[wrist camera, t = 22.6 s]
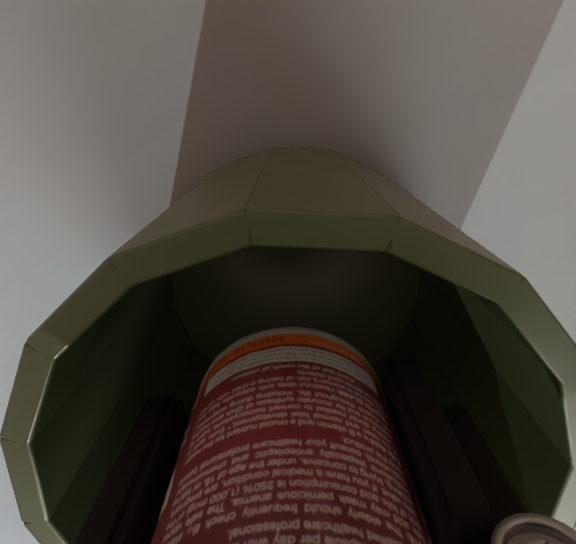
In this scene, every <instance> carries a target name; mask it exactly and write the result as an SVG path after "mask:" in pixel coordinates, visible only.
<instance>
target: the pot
mask: <svg viewBox="0 0 576 544" xmlns="http://www.w3.org/2000/svg"><path fill="white" fill-rule="evenodd" d="M289 326H292V327H307V328H313V329H317V330H320V331H323V332H326V333H329V334H331V335H334V336H336V337H339V338H340V339H342V340H344V341H346V342H347V343H349V344H350V345H351V346H353V347H354V348H355V349H357V350H358V351H359V352H360V353H361V354H362V355H363V356H364V357H365V358H366V360H367V361H368V362H369V363H370V365H371V366H372V368H373V369H374V371H375V373H376V375H377V377H378V379H379V382H380V384H381V387H382V390H383V394H384V397H385V400H386V403H387V399H386V392H385V385H384V378H383V371H382V364H384V363H389V357H390V356H394V355H400V354H405V353H411V352H412V353H414V355H415V357H416V359H417V361H418V363H419V365H420V367H421V369H422V371H423V373H424V375H425V377H426V379H427V381H428V383H429V385H430V387H431V389H432V391H433V393H434V395H435V397H436V399H437V401H438V403H439V405H440V407H443V406H449V405H455V404H462V405H464V406H465V408H466V409H467V411H468V412H469V414H470V416H471V417H472V419H473V421H474V422H475V424H476V426H477V427H478V429H479V431H480V433H481V434H482V436H483V438H484V439H485V441H486V443H487V445H488V446H489V448H490V450H491V451H492V453H493V455H494V456H495V458H496V460H497V462H498V463H499V465H500V467H501V468H502V470H503V472H504V473H505V475H506V477H507V479H508V480H509V482H510V484H511V485H512V487H513V489H514V491H515V492H516V494H517V496H518V497H519V499H520V501H521V502H522V504H523V506H524V508H525V509H526V511H527V513H536V514H541V515H545V516H549V517H551V518H554V519H556V520H558V521H560V522H563V523H565V524H566V525H568V526H569V527H571V528H572V529H573V530H574V528H575V525H576V344H575V342H574V341H573V340H572V338H571V337H570V336H569V334H568V333H567V332H566V330H565V329H564V328H563V326H562V325H561V324H560V322H559V321H558V320H557V318H556V317H555V316H554V314H553V313H552V312H551V311H550V309H549V308H548V307H547V305H546V304H545V303H544V301H543V300H542V299H541V297H540V296H539V295H538V293H537V292H536V291H535V289H534V288H533V287H532V285H531V284H530V283H529V281H528V280H527V279H526V278H525V277H524V276H523V275H521V274H520V273H519V272H518V271H516V270H515V269H513V268H512V267H511V266H509V265H508V264H506V263H505V262H504V261H502V260H501V259H499V258H498V257H497V256H495V255H494V254H493V253H491V252H490V251H488V250H487V249H486V248H484V247H483V246H481V245H480V244H479V243H477V242H476V241H475V240H473V239H472V238H470V237H469V236H468V235H466V234H465V233H463V232H462V231H461V230H459V229H458V228H457V227H455V226H454V225H452V224H451V223H450V222H448V221H447V220H445V219H444V218H443V217H441V216H440V215H439V214H437V213H436V212H434V211H433V210H432V209H430V208H429V207H427V206H426V205H425V204H423V203H422V202H421V201H419V200H418V199H416V198H415V197H414V196H412V195H411V194H409V193H408V192H407V191H405V190H404V189H402V188H401V187H400V186H398V185H397V184H396V183H394V182H393V181H391V180H390V179H389V178H387V177H386V176H384V175H382V174H380V173H377V172H375V171H373V170H371V169H369V168H367V167H366V166H364V165H362V164H361V163H359V162H356V161H354V160H351V159H349V158H347V157H345V156H343V155H341V154H339V153H337V152H334V151H323V150H313V149H305V148H293V149H283V148H273V149H269V150H266V151H264V152H261V153H258V154H255V155H251V156H248V157H245V158H243V159H241V160H238V161H236V162H234V163H232V164H229V165H226V166H224V167H221V168H218V169H217V170H215V171H214V172H212V173H211V174H210V175H209V176H208V177H206V178H205V179H204V180H203V181H201V182H200V183H199V184H198V185H196V186H195V187H194V188H193V189H192V190H190V191H189V192H188V193H187V194H185V195H184V196H183V197H182V198H181V199H179V200H178V201H177V202H176V203H174V204H173V205H172V206H171V207H169V208H168V209H167V210H166V211H165V212H163V213H162V214H161V215H160V216H158V217H157V218H156V219H155V220H154V221H152V222H151V223H150V224H149V225H147V226H146V227H145V228H144V229H143V230H141V231H140V232H139V233H138V234H136V235H135V236H134V237H133V238H131V239H130V240H129V241H128V242H127V243H125V244H124V245H123V246H122V247H120V248H119V249H118V250H117V251H116V252H114V253H113V254H112V255H111V256H109V257H108V258H107V259H106V260H105V261H104V262H103V263H102V264H101V265H100V266H99V267H98V268H97V269H96V270H95V271H94V272H93V273H92V274H91V275H90V276H89V277H88V278H87V279H86V280H85V281H84V282H83V283H82V284H81V285H80V286H79V287H78V288H77V289H76V290H75V291H74V292H73V293H72V294H71V295H70V296H69V297H68V298H67V299H66V300H65V301H64V302H63V303H62V304H61V305H60V306H59V307H58V308H57V309H56V310H55V311H54V312H53V313H52V314H51V315H50V316H49V317H48V318H47V319H46V320H45V321H44V322H43V323H42V324H41V325H40V326H39V327H38V328H37V329H36V330H35V331H34V332H33V333H32V334H31V335H30V336H29V337H28V339H27V342H26V343H25V344H24V347H23V351H22V355H21V358H20V362H19V366H18V370H17V373H16V377H15V381H14V384H13V388H12V392H11V396H10V399H9V403H8V407H7V411H6V414H5V418H4V422H3V425H2V429H1V433H0V437H1V438H0V442H1V446H2V450H3V453H4V457H5V461H6V464H7V468H8V472H9V475H10V479H11V483H12V486H13V490H14V494H15V497H16V501H17V505H18V508H19V512H20V516H21V519H22V521H23V522H24V525H25V526H26V528H27V529H28V530H29V531H30V532H31V534H32V535H33V536H34V537H35V538H36V539H37V541H38V542H39V543H40V544H74V543H75V541H76V539H77V537H78V535H79V533H80V531H81V529H82V527H83V525H84V523H85V521H86V519H87V517H88V515H89V512H90V510H91V508H92V506H93V504H94V502H95V500H96V498H97V496H98V494H99V492H100V490H101V488H102V486H103V484H104V482H105V480H106V478H107V476H108V474H109V472H110V470H111V468H112V466H113V465H114V463H115V462H116V461H117V459H118V457H119V455H120V453H121V451H122V449H123V447H124V445H125V442H126V440H127V438H128V436H129V434H130V432H131V430H132V428H133V426H134V424H135V422H136V420H137V418H138V416H139V414H140V412H141V410H142V408H143V406H144V403H145V402H146V400H147V399H148V398H152V397H158V396H163V395H169V394H170V395H173V396H174V398H175V399H180V400H181V401H182V403H183V405H184V408H185V410H186V413H187V416H188V418H189V420H190V417H191V414H192V410H193V407H194V404H195V401H196V398H197V395H198V392H199V389H200V386H201V383H202V381H203V378H204V376H205V374H206V372H207V370H208V369H209V367H210V365H211V364H212V362H213V361H214V360H215V358H216V357H217V356H218V355H219V354H220V353H221V352H222V351H224V350H225V349H226V348H227V347H228V346H230V345H231V344H233V343H234V342H236V341H237V340H239V339H240V338H242V337H245V336H248V335H250V334H252V333H255V332H259V331H262V330H267V329H274V328H277V327H278V328H281V327H289ZM387 406H388V405H387Z"/></svg>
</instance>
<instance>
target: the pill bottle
mask: <svg viewBox="0 0 576 544" xmlns="http://www.w3.org/2000/svg"><path fill="white" fill-rule="evenodd" d="M150 544H433V541H432V538H431V535H430V531H429V528H428V525H427V522H426V519H425V516H424V513H423V510H422V507H421V504H420V501H419V498H418V495H417V493H416V489H415V486H414V484H413V481H412V478H411V475H410V473H409V470H408V466H407V463H406V460H405V457H404V454H403V451H402V448H401V445H400V442H399V439H398V436H397V433H396V430H395V427H394V424H393V422H392V419H391V415H390V411H389V408H388V406H387V403H386V400H385V397H384V394H383V390H382V387H381V384H380V382H379V379H378V377H377V375H376V373H375V371H374V369H373V368H372V366H371V365H370V363H369V362H368V361H367V360H366V358H365V357H364V356H363V355H362V354H361V353H360V352H359V351H358V350H357V349H355V348H354V347H353V346H351V345H350V344H349V343H347V342H346V341H344V340H342V339H340V338H339V337H336V336H334V335H331V334H329V333H326V332H323V331H320V330H317V329H313V328H307V327H292V326H289V327H281V328H278V327H277V328H274V329H267V330H262V331H259V332H255V333H252V334H250V335H248V336H245V337H242V338H240V339H239V340H237V341H236V342H234V343H233V344H231V345H230V346H228V347H227V348H226V349H225V350H224V351H222V352H221V353H220V354H219V355H218V356H217V357H216V358H215V360H214V361H213V362H212V364H211V365H210V367H209V369H208V370H207V372H206V374H205V376H204V378H203V381H202V383H201V386H200V389H199V392H198V395H197V398H196V401H195V404H194V407H193V410H192V414H191V417H190V420H189V423H188V426H187V428H186V431H185V434H184V437H183V442H182V445H181V448H180V451H179V455H178V459H177V461H176V464H175V467H174V470H173V473H172V476H171V479H170V482H169V485H168V489H167V493H166V496H165V499H164V502H163V505H162V508H161V512H160V516H159V519H158V523H157V526H156V528H155V532H154V536H153V538H152V540H151V543H150Z"/></svg>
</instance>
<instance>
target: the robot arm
mask: <svg viewBox="0 0 576 544" xmlns="http://www.w3.org/2000/svg"><path fill="white" fill-rule="evenodd" d="M382 371H383V378H384V385H385V392H386V399H387V405H388V408H389V411H390V415H391V419H392V422H393V424H394V427H395V430H396V433H397V436H398V439H399V442H400V445H401V448H402V451H403V454H404V457H405V460H406V463H407V466H408V470H409V473H410V475H411V478H412V481H413V484H414V486H415V489H416V493H417V495H418V498H419V501H420V504H421V507H422V510H423V513H424V516H425V519H426V522H427V525H428V528H429V531H430V535H431V538H432V541H433V544H576V531H575V530H573V529H572V528H571V527H569V526H568V525H566V524H565V523H563V522H560V521H558V520H556V519H554V518H551V517H549V516H545V515H541V514H536V513H527V511H526V509H525V508H524V506H523V504H522V502H521V501H520V499H519V497H518V496H517V494H516V492H515V491H514V489H513V487H512V485H511V484H510V482H509V480H508V479H507V477H506V475H505V473H504V472H503V470H502V468H501V467H500V465H499V463H498V462H497V460H496V458H495V456H494V455H493V453H492V451H491V450H490V448H489V446H488V445H487V443H486V441H485V439H484V438H483V436H482V434H481V433H480V431H479V429H478V427H477V426H476V424H475V422H474V421H473V419H472V417H471V416H470V414H469V412H468V411H467V409H466V408H465V406H464V405H462V404H455V405H449V406H443V407H440V405H439V403H438V401H437V399H436V397H435V395H434V393H433V391H432V389H431V387H430V385H429V383H428V381H427V379H426V377H425V375H424V373H423V371H422V369H421V367H420V365H419V363H418V361H417V359H416V357H415V355H414V353H412V352H411V353H405V354H400V355H394V356H390V357H389V363H384V364H382ZM188 423H189V418H188V416H187V413H186V410H185V408H184V405H183V403H182V401H181V400H180V399H175V398H174V396H173V395H170V394H169V395H163V396H158V397H152V398H148V399H147V400H146V402H145V403H144V406H143V408H142V410H141V412H140V414H139V416H138V418H137V420H136V422H135V424H134V426H133V428H132V430H131V432H130V434H129V436H128V438H127V440H126V442H125V445H124V447H123V449H122V451H121V453H120V455H119V457H118V459H117V461H116V462H115V463H114V465H113V466H112V468H111V470H110V472H109V474H108V476H107V478H106V480H105V482H104V484H103V486H102V488H101V490H100V492H99V494H98V496H97V498H96V500H95V502H94V504H93V506H92V508H91V510H90V512H89V515H88V517H87V519H86V521H85V523H84V525H83V527H82V529H81V531H80V533H79V535H78V537H77V539H76V541H75V543H74V544H150V543H151V540H152V538H153V536H154V532H155V528H156V526H157V523H158V519H159V516H160V512H161V508H162V505H163V502H164V499H165V496H166V493H167V489H168V485H169V482H170V479H171V476H172V473H173V470H174V467H175V464H176V461H177V459H178V455H179V451H180V448H181V445H182V442H183V437H184V434H185V431H186V428H187V426H188Z"/></svg>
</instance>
